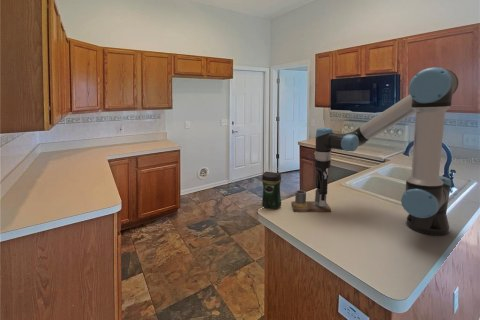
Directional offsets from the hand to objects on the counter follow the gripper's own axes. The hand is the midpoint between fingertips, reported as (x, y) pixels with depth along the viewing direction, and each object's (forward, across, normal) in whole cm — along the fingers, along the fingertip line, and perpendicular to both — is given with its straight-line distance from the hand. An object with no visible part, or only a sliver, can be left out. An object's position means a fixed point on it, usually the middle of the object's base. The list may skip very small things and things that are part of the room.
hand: (320, 203), depth 137 cm
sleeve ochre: (+1, 0, -10) cm, 10 cm away
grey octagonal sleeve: (0, 0, 0) cm, 0 cm away
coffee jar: (+3, -2, -25) cm, 25 cm away
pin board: (+2, 0, -5) cm, 6 cm away
